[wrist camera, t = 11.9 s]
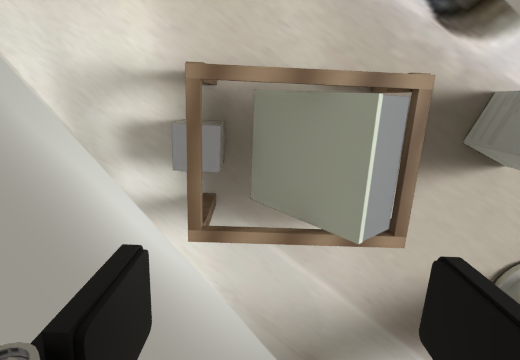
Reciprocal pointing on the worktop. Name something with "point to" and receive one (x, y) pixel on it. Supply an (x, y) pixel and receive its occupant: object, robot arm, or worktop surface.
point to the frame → (378, 81)
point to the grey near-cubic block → (210, 145)
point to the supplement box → (499, 129)
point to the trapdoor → (328, 157)
